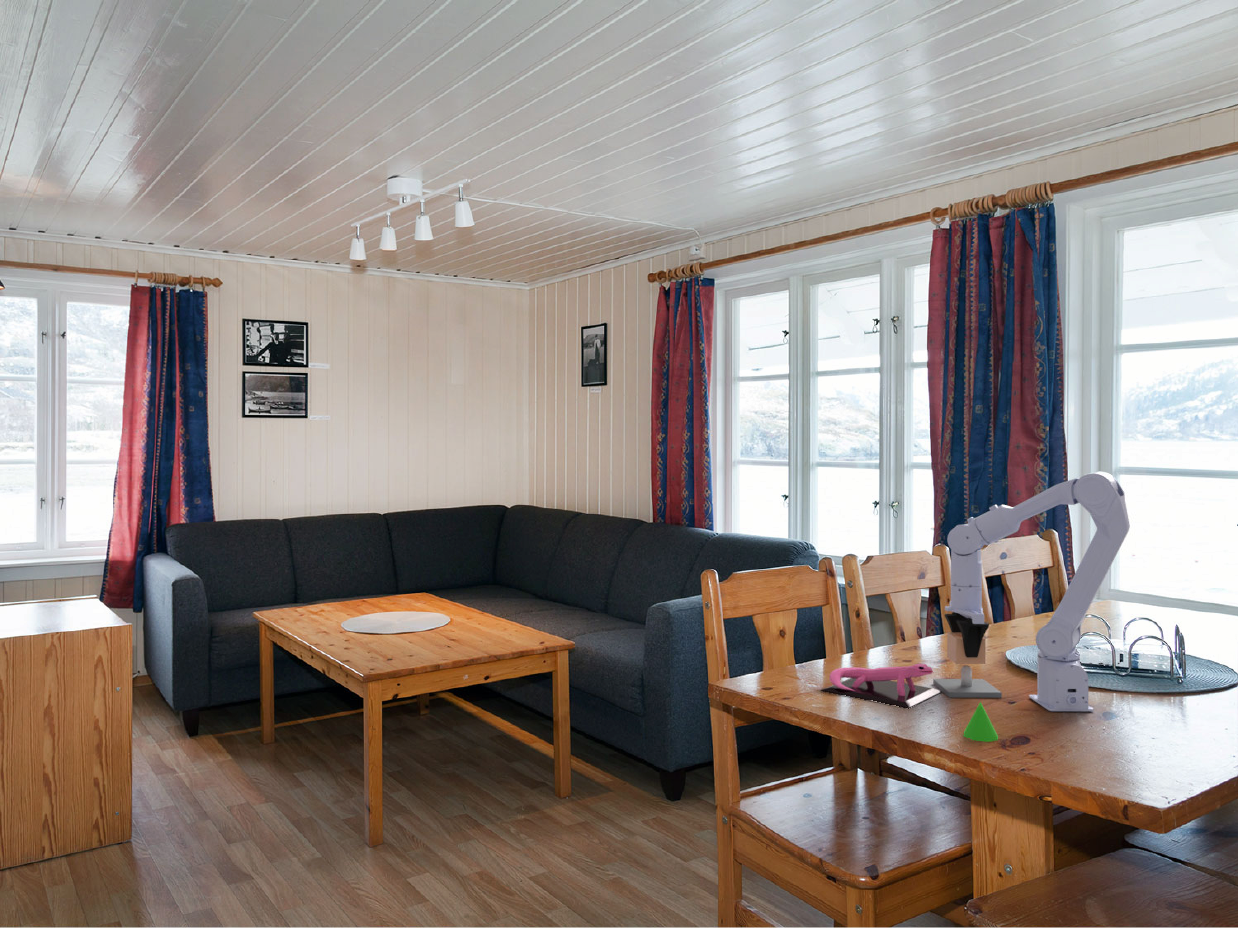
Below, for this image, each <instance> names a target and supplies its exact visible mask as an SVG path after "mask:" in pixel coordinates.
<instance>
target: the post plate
mask: <svg viewBox="0 0 1238 928" xmlns="http://www.w3.org/2000/svg"><path fill="white" fill-rule="evenodd" d="M932 681H933V685H934V686H935V687H936V688H938V690H939V691H942V693H943V694H945V696H947V697H948V698H949V699H950V698H953V699H954V698H958V699H959V698H964V699H965V698H976V699H977V698H978V699H979V698H984V699H985V698H987V699H989V698H990V699H993V698H999V699H1000V698H1001V699H1002V697H1003V696H1002V691H1000V690H999V689H997V688H996V687H995V686H994V685H992V684H991V683H990V682H988V681H986V680H985V679H984V678H973V671H972V667H971V666H969V664H963V665H962V667H961V668H960V678H933V679H932Z"/></svg>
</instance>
